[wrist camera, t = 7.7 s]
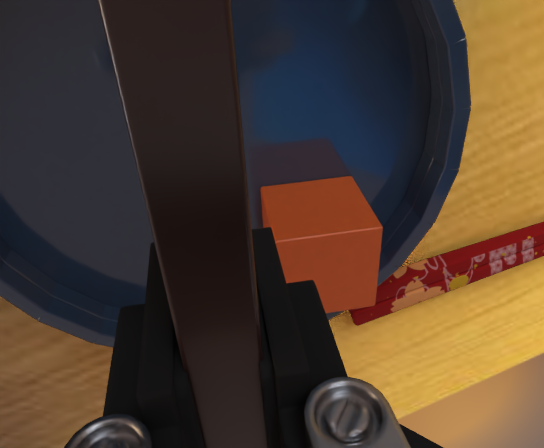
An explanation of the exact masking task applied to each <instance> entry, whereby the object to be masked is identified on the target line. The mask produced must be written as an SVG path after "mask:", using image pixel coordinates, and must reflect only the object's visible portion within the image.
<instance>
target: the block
mask: <svg viewBox="0 0 544 448" xmlns="http://www.w3.org/2000/svg"><path fill="white" fill-rule="evenodd" d="M260 192H261V205H262V218H263V228H266V227H271V229H272V232H273V236H274V239H275V243H276V247H277V250H278V254H279V258H280V262H281V265H282V269H283V273H284V276H285V280H286V283H292V282H299V281H306V280H313V281H314V282H315V285H316V287H317V290H318V293H319V296H320V299H321V301H322V304H323V307H324V310H325V313H331V312H338V311H344V310H351V309H358V308H364V307H371V306H374V305H375V302H376V292H377V281H378V271H379V261H380V251H381V241H382V231H383V227H382V225H381V223H380V222H379V220H378V219H377V217H376V215H375V214H374V212H373V210H372V209H371V207H370V205H369V204H368V202H367V200H366V199H365V197H364V196H363V194H362V192H361V191H360V189H359V187H358V186H357V184H356V182H355V181H354V179H353V177H352V176H345V177H337V178H329V179H320V180H312V181H304V182H296V183H288V184H280V185H272V186H264V187H261V189H260Z"/></svg>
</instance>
